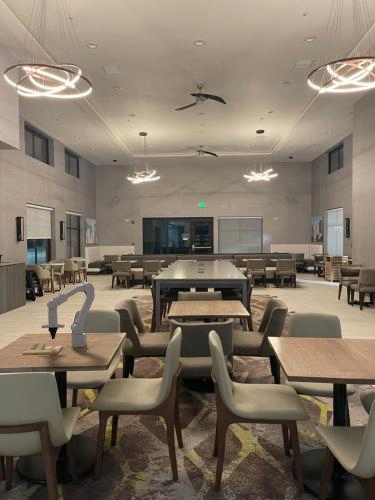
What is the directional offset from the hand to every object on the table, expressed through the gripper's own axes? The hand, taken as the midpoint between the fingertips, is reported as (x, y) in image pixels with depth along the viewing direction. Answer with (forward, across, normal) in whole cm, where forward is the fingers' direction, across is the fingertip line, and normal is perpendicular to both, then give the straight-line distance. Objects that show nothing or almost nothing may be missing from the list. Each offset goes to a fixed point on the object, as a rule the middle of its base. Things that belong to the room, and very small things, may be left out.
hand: (53, 338), depth 268 cm
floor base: (+7, +5, +4) cm, 10 cm away
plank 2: (+7, 0, +1) cm, 7 cm away
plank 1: (+6, +11, +1) cm, 12 cm away
